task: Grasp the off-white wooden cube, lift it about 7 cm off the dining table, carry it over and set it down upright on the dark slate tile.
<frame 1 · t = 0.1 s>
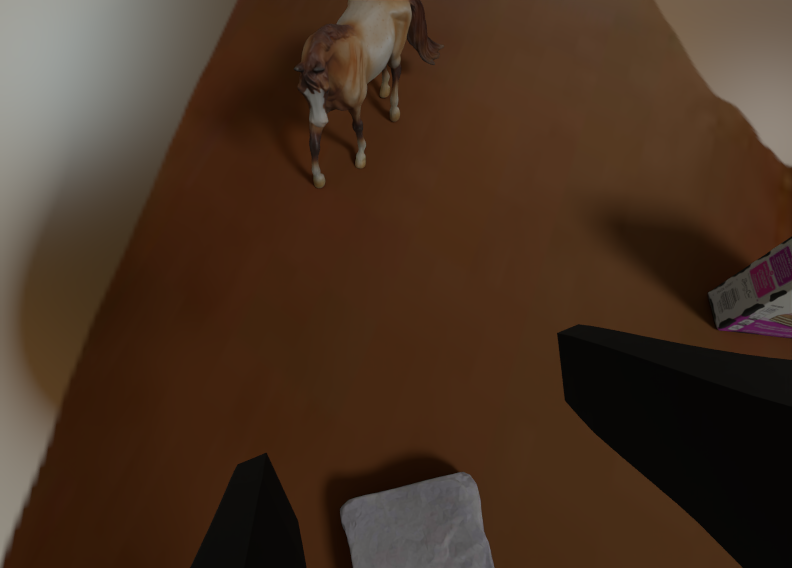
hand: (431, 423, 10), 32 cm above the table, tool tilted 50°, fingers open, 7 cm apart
brown animal figure: (387, 143, 59), on the table
candy bar box: (760, 319, 47), on the table
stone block: (418, 548, 36), on the table
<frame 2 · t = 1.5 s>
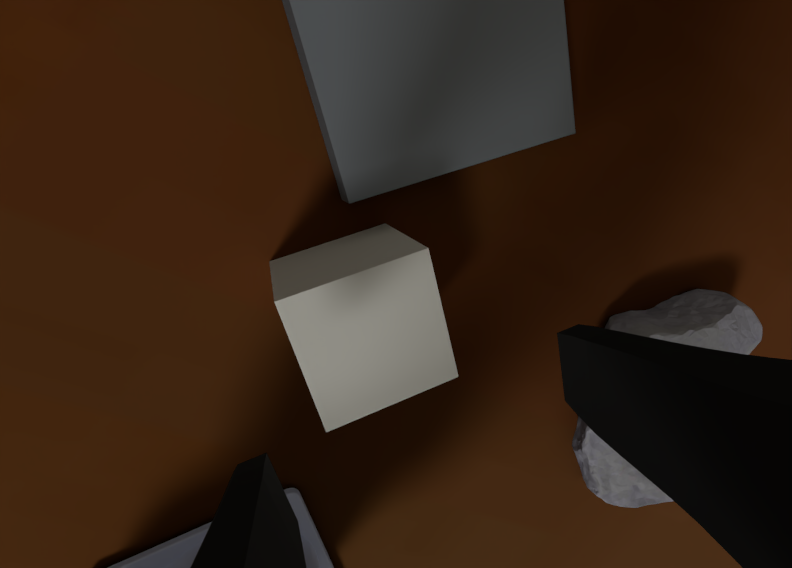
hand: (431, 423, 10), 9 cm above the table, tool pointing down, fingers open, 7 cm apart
slate tile: (427, 34, 16), on the table
cube: (346, 295, 18), on the table
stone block: (627, 386, 26), on the table
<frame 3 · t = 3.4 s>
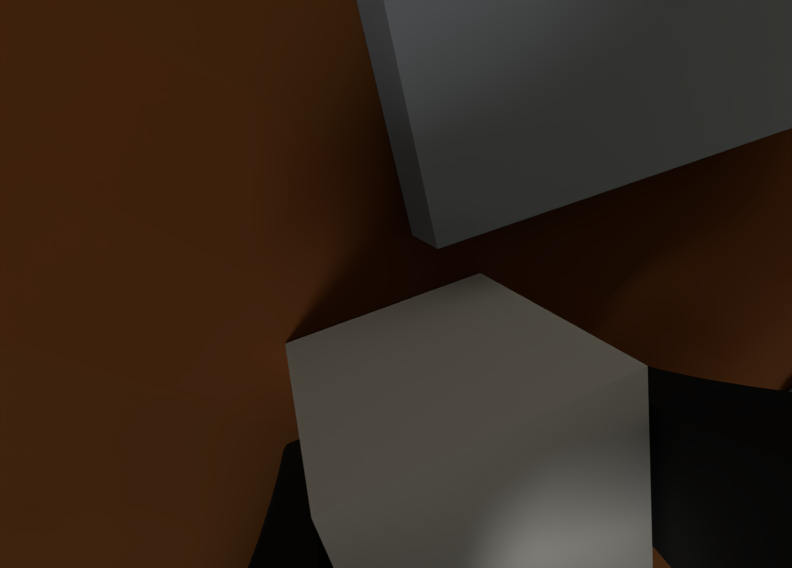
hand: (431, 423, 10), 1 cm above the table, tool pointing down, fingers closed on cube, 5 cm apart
cube: (411, 391, 11), on the table, touching gripper
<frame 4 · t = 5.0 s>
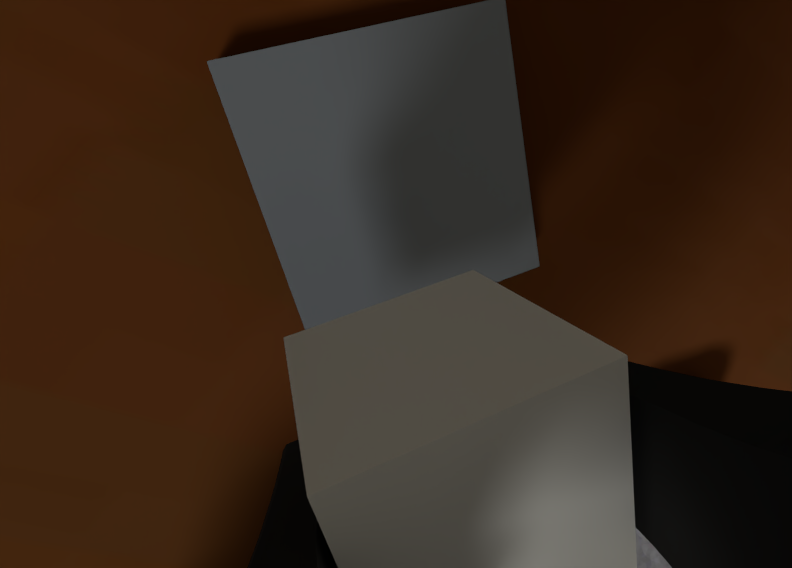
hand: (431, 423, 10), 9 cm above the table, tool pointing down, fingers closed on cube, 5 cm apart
slate tile: (391, 180, 17), on the table
cube: (406, 384, 11), point 7 cm above the table, touching gripper
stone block: (623, 467, 27), on the table
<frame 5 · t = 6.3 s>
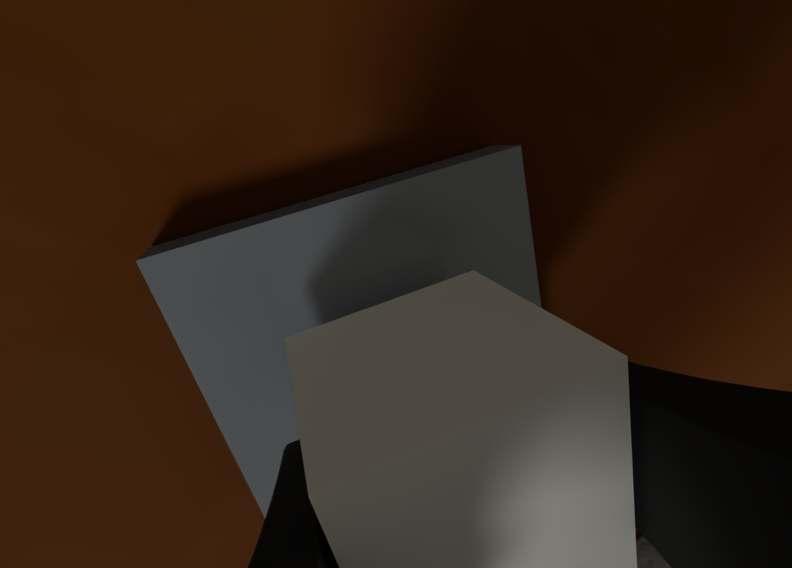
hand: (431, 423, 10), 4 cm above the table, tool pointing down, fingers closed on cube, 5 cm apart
slate tile: (380, 343, 14), on the table
cube: (406, 384, 11), point 3 cm above the table, touching gripper
when the fingers open (4 cm above the table, at t = 7.0 s): cube drops 1 cm, resting on slate tile.
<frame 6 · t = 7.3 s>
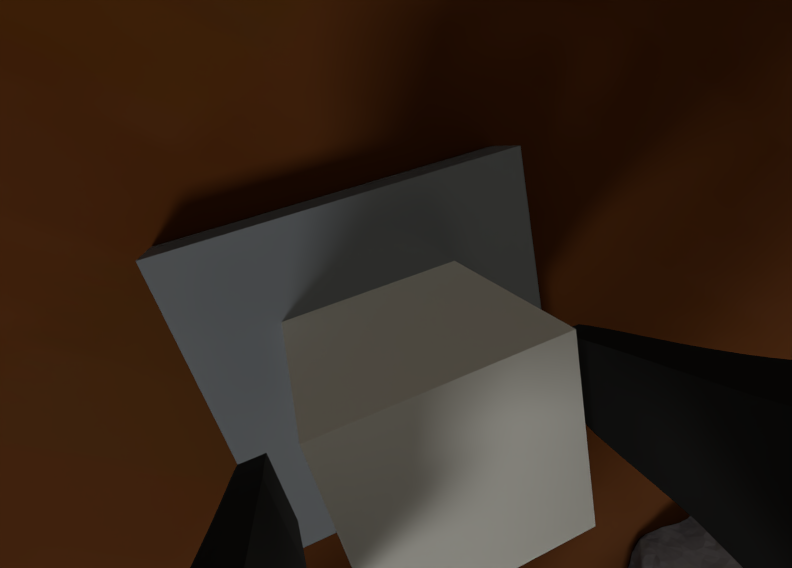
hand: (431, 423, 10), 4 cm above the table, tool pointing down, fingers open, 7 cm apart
slate tile: (380, 343, 14), on the table
cube: (394, 366, 12), point 1 cm above the table, touching slate tile
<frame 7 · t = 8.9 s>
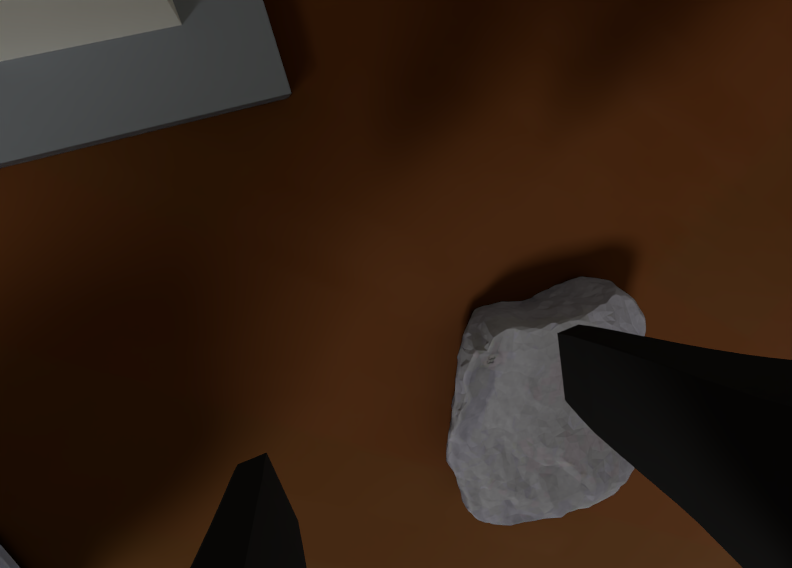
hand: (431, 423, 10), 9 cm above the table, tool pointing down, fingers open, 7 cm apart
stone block: (512, 387, 23), on the table
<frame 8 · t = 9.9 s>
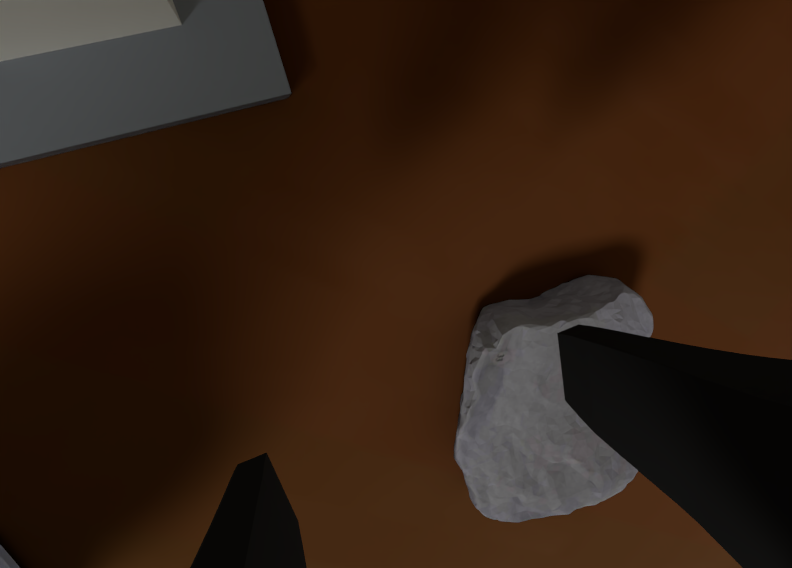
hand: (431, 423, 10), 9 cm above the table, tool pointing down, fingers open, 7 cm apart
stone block: (519, 385, 23), on the table
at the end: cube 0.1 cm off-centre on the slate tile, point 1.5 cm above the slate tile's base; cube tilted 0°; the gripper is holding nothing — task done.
